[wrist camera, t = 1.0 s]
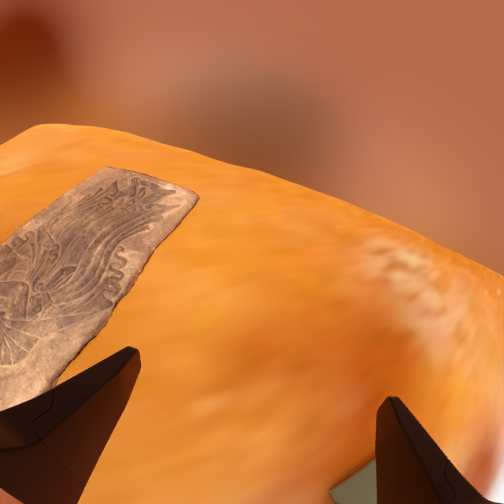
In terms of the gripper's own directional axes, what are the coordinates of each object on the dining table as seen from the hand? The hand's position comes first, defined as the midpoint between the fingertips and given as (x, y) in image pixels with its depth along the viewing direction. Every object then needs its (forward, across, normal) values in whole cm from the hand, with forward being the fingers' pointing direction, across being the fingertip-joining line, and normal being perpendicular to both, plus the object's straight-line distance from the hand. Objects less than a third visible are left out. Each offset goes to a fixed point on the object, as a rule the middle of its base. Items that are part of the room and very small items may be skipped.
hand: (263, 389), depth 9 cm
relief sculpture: (+13, +24, +9) cm, 29 cm away
